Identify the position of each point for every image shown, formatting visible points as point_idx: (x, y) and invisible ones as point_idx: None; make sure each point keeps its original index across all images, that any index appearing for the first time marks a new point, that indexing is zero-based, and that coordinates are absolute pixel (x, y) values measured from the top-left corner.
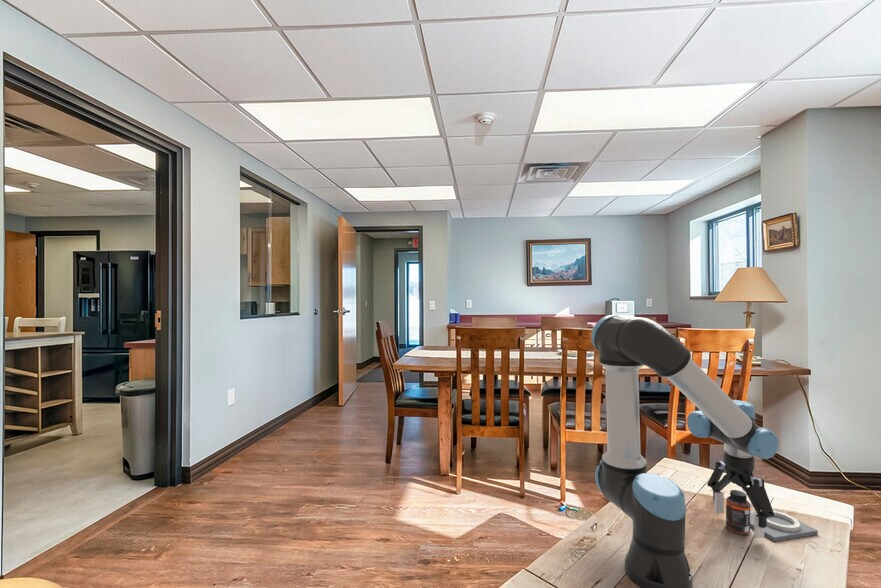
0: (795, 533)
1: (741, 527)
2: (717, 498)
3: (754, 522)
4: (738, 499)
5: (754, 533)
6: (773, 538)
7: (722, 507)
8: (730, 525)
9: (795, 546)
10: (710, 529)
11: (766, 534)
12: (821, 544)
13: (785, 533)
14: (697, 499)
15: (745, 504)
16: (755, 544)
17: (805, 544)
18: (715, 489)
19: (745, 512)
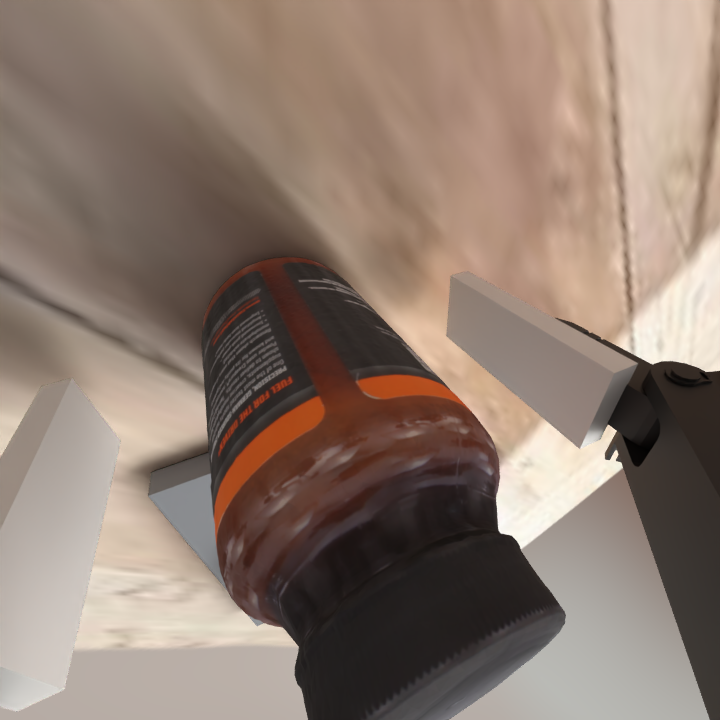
0: (221, 575)
1: (206, 345)
2: (553, 348)
3: (9, 505)
4: (323, 618)
5: (55, 402)
6: (154, 485)
7: (474, 349)
8: (271, 276)
9: (116, 542)
10: (298, 65)
11: (208, 465)
12: (170, 612)
13: (215, 546)
14: (604, 289)
15: (248, 610)
16: (61, 346)
17: (155, 574)
18: (673, 394)
19: (212, 498)
